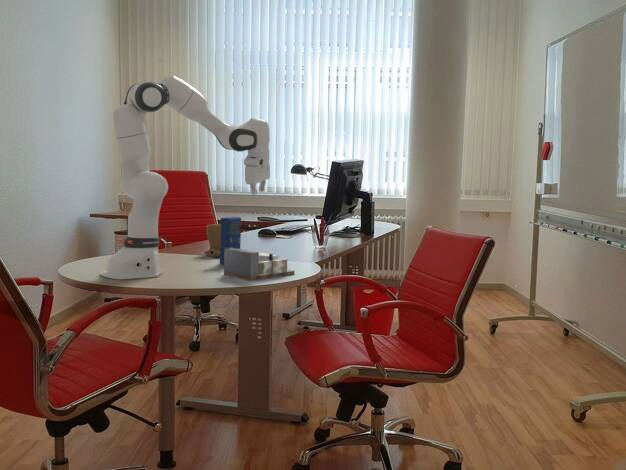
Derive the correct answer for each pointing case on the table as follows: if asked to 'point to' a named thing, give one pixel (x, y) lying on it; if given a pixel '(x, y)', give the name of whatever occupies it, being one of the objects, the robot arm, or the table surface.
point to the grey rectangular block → (241, 262)
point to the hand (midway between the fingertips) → (258, 192)
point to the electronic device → (230, 234)
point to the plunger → (266, 257)
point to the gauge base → (267, 270)
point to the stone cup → (214, 239)
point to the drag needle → (270, 256)
